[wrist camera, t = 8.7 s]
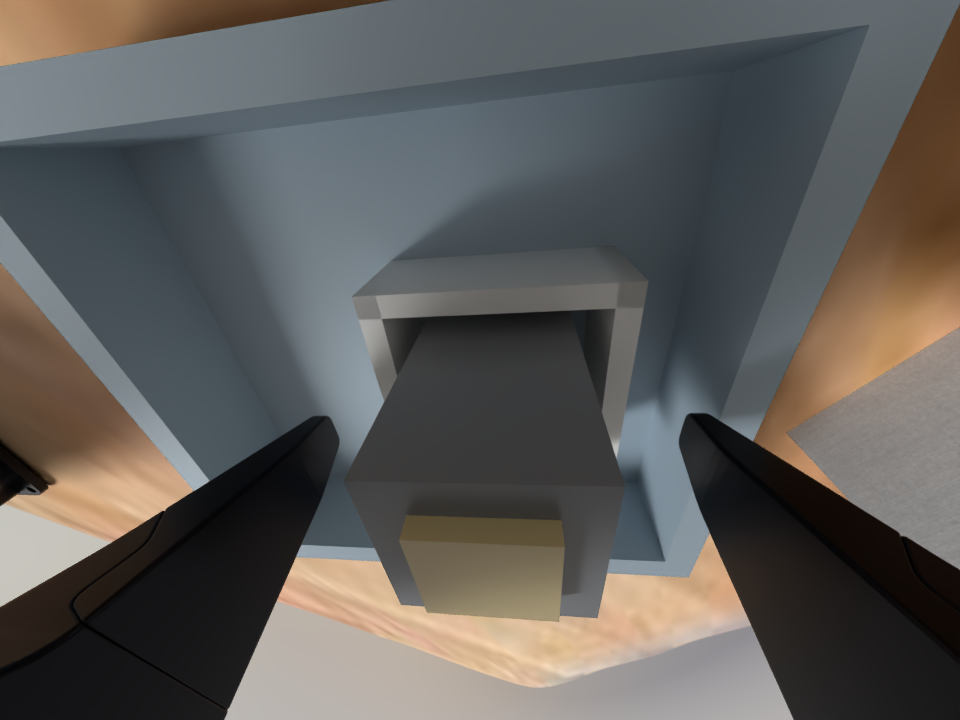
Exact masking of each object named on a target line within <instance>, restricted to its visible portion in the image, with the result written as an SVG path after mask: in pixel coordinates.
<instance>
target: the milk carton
mask: <svg viewBox="0 0 960 720" xmlns="http://www.w3.org/2000/svg"><path fill="white" fill-rule="evenodd" d="M787 434H788V435H789V436H790V437H791V438H792V440H793V441H794V442H795V443H796V444H797V445H798V446H799V447H800V448H801V449H802V450H803V451H804V452H805V453H806V454H807V456H808V457H809V458H810V459H811V460H812V461H813V462H814V463H815V464H816V465H817V466H818V467H819V468H820V469H821V471H822V472H823V473H824V474H825V475H826V476H827V477H828V478H829V479H830V480H831V481H832V482H833V483H834V484H835V486H836V487H837V488H838V489H839V490H840V491H841V492H842V493H843V494H844V495H845V496H846V497H847V498H848V499H849V501H850V502H851V503H853V504H854V505H856V506H858V507H859V508H861V509H863V510H864V511H866V512H867V513H869V514H871V515H872V516H874V517H875V518H877V519H879V520H880V521H882V522H883V523H885V524H887V525H888V526H890V527H891V528H893V529H895V530H896V531H898V532H899V533H900V535H901V536H906V537H908V538H909V539H911V540H913V541H914V542H916V543H917V544H919V545H921V546H922V547H924V548H925V549H927V550H929V551H930V552H932V553H933V554H935V555H937V556H938V557H940V558H942V559H943V560H945V561H947V562H948V563H950V564H951V565H953V566H955V567H956V568H958V569H960V327H959V328H957V329H956V330H954V331H952V332H951V333H949V334H948V335H946V336H944V337H943V338H941V339H939V340H938V341H936V342H934V343H933V344H931V345H929V346H928V347H926V348H925V349H923V350H921V351H920V352H918V353H916V354H915V355H913V356H911V357H910V358H908V359H907V360H905V361H903V362H902V363H900V364H898V365H897V366H895V367H893V368H892V369H890V370H888V371H887V372H885V373H884V374H882V375H880V376H879V377H877V378H875V379H874V380H872V381H870V382H869V383H867V384H865V385H864V386H862V387H861V388H859V389H857V390H856V391H854V392H852V393H851V394H849V395H847V396H846V397H844V398H843V399H841V400H839V401H838V402H836V403H834V404H833V405H831V406H829V407H828V408H826V409H824V410H823V411H821V412H820V413H818V414H816V415H815V416H813V417H811V418H810V419H808V420H806V421H805V422H803V423H801V424H800V425H798V426H797V427H795V428H793V429H792V430H790V431H788V432H787Z"/></svg>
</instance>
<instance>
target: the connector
mask: <svg viewBox="0 0 960 720" xmlns="http://www.w3.org/2000/svg"><path fill="white" fill-rule="evenodd" d="M343 482H344V484H345V486H346V488H347V490H348V492H349V495H350V497H351V499H352V501H353V503H354V505H355V507H356V510H357V512H358V514H359V516H360V518H361V520H362V522H363V524H364V527H365V529H366V531H367V533H368V535H369V537H370V539H371V541H372V544H373V546H374V548H375V550H376V552H377V554H378V556H379V559H380V561H381V563H382V565H383V567H384V569H385V571H386V573H387V576H388V578H389V580H390V582H391V584H392V586H393V588H394V590H395V593H396V595H397V597H398V599H399V601H400V603H401V605H411V606H425V608H426V611H427V613H440V614H454V615H469V616H483V617H497V618H511V619H526V620H540V621H554V622H559V617H560V616H573V617H588V618H597V617H598V613H599V608H600V603H601V599H602V594H603V589H604V584H605V580H606V575H607V570H608V566H609V561H610V556H611V551H612V547H613V542H614V537H615V533H616V528H617V523H618V519H619V514H620V509H621V504H622V500H623V495H624V490H625V484H624V481H623V478H622V475H621V472H620V469H619V465H618V462H617V459H616V456H615V453H614V450H613V446H612V443H611V440H610V437H609V434H608V431H607V427H606V424H605V421H604V418H603V415H602V412H601V408H600V405H599V402H598V399H597V396H596V393H595V389H594V386H593V383H592V380H591V377H590V374H589V370H588V367H587V364H586V361H585V358H584V354H583V351H582V348H581V345H580V342H579V339H578V335H577V332H576V329H575V326H574V323H573V320H572V316H571V313H570V311H548V312H525V313H502V314H480V315H457V316H435V317H428V318H427V320H426V322H425V324H424V326H423V328H422V330H421V332H420V334H419V336H418V338H417V340H416V342H415V343H414V345H413V347H412V349H411V351H410V353H409V355H408V357H407V359H406V361H405V363H404V365H403V367H402V369H401V371H400V372H399V374H398V376H397V378H396V380H395V382H394V384H393V386H392V388H391V390H390V392H389V394H388V396H387V398H386V400H385V401H384V403H383V405H382V407H381V409H380V411H379V413H378V415H377V417H376V419H375V421H374V423H373V425H372V427H371V429H370V430H369V432H368V434H367V436H366V438H365V440H364V442H363V444H362V446H361V448H360V450H359V452H358V454H357V456H356V458H355V459H354V461H353V463H352V465H351V467H350V469H349V471H348V473H347V475H346V477H345V479H344V481H343Z"/></svg>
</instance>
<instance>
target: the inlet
mask: <svg viewBox="0 0 960 720" xmlns="http://www.w3.org/2000/svg"><path fill="white" fill-rule="evenodd" d="M648 282H649V281H648V280H647V279H646V278H645V277H644V276H643V275H642V274H641V273H640V272H639V271H638V270H637V269H636V267H635V266H634V265H633V264H632V263H631V262H630V261H629V260H628V259H627V258H626V257H625V256H624V255H623V254H622V253H621V252H620V251H619V250H618V249H617V248H616V247H615V246H601V247H587V248H572V249H557V250H542V251H527V252H512V253H497V254H482V255H467V256H452V257H437V258H423V259H408V260H393V261H390V262H389V263H388V264H387V265H386V266H385V267H384V268H383V269H381V270H380V271H379V272H378V273H377V274H376V275H375V276H374V277H373V278H372V279H371V280H369V281H368V282H367V283H366V284H365V285H364V286H363V287H362V288H361V289H360V290H359V291H357V292H356V293H355V294H354V295H353V296H352V300H353V304H354V307H355V310H356V313H357V316H358V320H359V323H360V326H361V329H362V333H363V336H364V339H365V342H366V345H367V349H368V352H369V355H370V358H371V362H372V365H373V368H374V371H375V374H376V378H377V381H378V384H379V387H380V391H381V394H382V397H383V400H384V401H385V400H386V398H387V396H388V394H389V392H390V390H391V388H392V386H393V384H394V382H395V380H396V378H397V376H398V374H399V372H400V371H401V369H402V367H403V365H404V363H405V361H406V359H407V357H408V355H409V353H410V351H411V349H412V347H413V345H414V343H415V342H416V340H417V338H418V336H419V334H420V332H421V330H422V328H423V323H422V318H421V317H435V316H457V315H480V314H502V313H525V312H548V311H570V310H587V322H586V334H585V345H584V358H585V361H586V364H587V367H588V370H589V374H590V377H591V380H592V383H593V386H594V389H595V393H596V396H597V399H598V402H599V405H600V408H601V412H602V415H603V418H604V421H605V424H606V427H607V431H608V434H609V437H610V440H611V443H612V446H613V450H614V453H615V456H616V459H617V454H618V448H619V442H620V437H621V431H622V426H623V420H624V415H625V409H626V404H627V398H628V393H629V387H630V381H631V376H632V370H633V365H634V359H635V354H636V348H637V343H638V337H639V332H640V326H641V321H642V315H643V309H644V304H645V298H646V293H647V287H648Z"/></svg>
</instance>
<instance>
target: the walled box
mask: <svg viewBox="0 0 960 720" xmlns="http://www.w3.org/2000/svg"><path fill="white" fill-rule="evenodd" d="M959 4H960V0H389V1H384V2H378V3H372V4H366V5H360V6H354V7H348V8H342V9H336V10H330V11H325V12H319V13H313V14H307V15H301V16H295V17H289V18H283V19H277V20H272V21H266V22H260V23H254V24H248V25H242V26H236V27H230V28H224V29H218V30H213V31H207V32H201V33H195V34H189V35H183V36H177V37H171V38H165V39H160V40H154V41H148V42H142V43H136V44H130V45H124V46H118V47H112V48H106V49H101V50H95V51H89V52H83V53H77V54H71V55H65V56H59V57H53V58H48V59H42V60H36V61H30V62H24V63H18V64H12V65H6V66H0V263H1V264H2V265H3V266H4V268H5V269H6V270H7V271H8V272H9V273H10V275H11V276H12V277H13V278H14V279H15V281H16V282H17V283H18V284H19V285H20V286H21V288H22V289H23V290H24V291H25V292H26V293H27V295H28V296H29V297H30V298H31V299H32V301H33V302H34V303H35V304H36V305H37V306H38V308H39V309H40V310H41V311H42V312H43V314H44V315H45V316H46V317H47V318H48V319H49V321H50V322H51V323H52V324H53V325H54V327H55V328H56V329H57V330H58V331H59V332H60V334H61V335H62V336H63V337H64V338H65V339H66V341H67V342H68V343H69V344H70V345H71V347H72V348H73V349H74V350H75V351H76V352H77V354H78V355H79V356H80V357H81V358H82V360H83V361H84V362H85V363H86V364H87V365H88V367H89V368H90V369H91V370H92V371H93V373H94V374H95V375H96V376H97V377H98V378H99V380H100V381H101V382H102V383H103V384H104V386H105V387H106V388H107V389H108V390H109V391H110V393H111V394H112V395H113V396H114V397H115V398H116V400H117V401H118V402H119V403H120V404H121V406H122V407H123V408H124V409H125V410H126V411H127V413H128V414H129V415H130V416H131V417H132V419H133V420H134V421H135V422H136V423H137V424H138V426H139V427H140V428H141V429H142V430H143V432H144V433H145V434H146V435H147V436H148V437H149V439H150V440H151V441H152V442H153V443H154V444H155V446H156V447H157V448H158V449H159V450H160V452H161V453H162V454H163V455H164V456H165V457H166V459H167V460H168V461H169V462H170V463H171V465H172V466H173V467H174V468H175V469H176V470H177V472H178V473H179V474H180V475H181V476H182V478H183V479H184V480H185V481H186V482H187V483H188V485H189V486H190V487H191V488H192V489H193V491H195V490H196V489H198V488H200V487H201V486H203V485H204V484H206V483H208V482H209V481H211V480H212V479H214V478H215V477H217V476H219V475H220V474H222V473H223V472H225V471H227V470H228V469H230V468H231V467H233V466H234V465H236V464H238V463H239V462H241V461H242V460H244V459H245V458H247V457H249V456H250V455H252V454H253V453H255V452H257V451H258V450H260V449H261V448H263V447H264V446H266V445H268V444H269V443H271V442H272V441H274V440H276V439H277V438H279V437H280V436H282V435H283V434H285V433H287V432H288V431H290V430H291V429H293V428H294V427H296V426H298V425H299V424H301V423H302V422H304V421H306V420H307V419H309V418H310V417H312V416H318V415H326V416H329V417H330V418H331V419H332V421H333V424H334V426H335V428H336V431H337V433H338V435H339V439H340V444H339V448H338V451H337V454H336V457H335V460H334V464H333V467H332V470H331V473H330V476H329V479H328V482H327V485H326V488H325V491H324V494H323V496H322V499H321V501H320V504H319V506H318V509H317V511H316V513H315V515H314V518H313V520H312V522H311V524H310V527H309V529H308V531H307V533H306V536H305V538H304V540H303V542H302V545H301V547H300V549H299V551H298V554H297V556H296V557H303V558H323V559H342V560H361V561H380V559H379V556H378V554H377V552H376V550H375V548H374V546H373V544H372V541H371V539H370V537H369V535H368V533H367V531H366V529H365V527H364V524H363V522H362V520H361V518H360V516H359V514H358V512H357V510H356V507H355V505H354V503H353V501H352V499H351V497H350V495H349V492H348V490H347V488H346V486H345V484H344V482H343V481H344V479H345V477H346V475H347V473H348V471H349V469H350V467H351V465H352V463H353V461H354V459H355V458H356V456H357V454H358V452H359V450H360V448H361V446H362V444H363V442H364V440H365V438H366V436H367V434H368V432H369V430H370V429H371V427H372V425H373V423H374V421H375V419H376V417H377V415H378V413H379V411H380V409H381V407H382V405H383V403H384V400H383V397H382V394H381V391H380V387H379V384H378V381H377V378H376V374H375V371H374V368H373V365H372V362H371V358H370V355H369V352H368V349H367V345H366V342H365V339H364V336H363V333H362V329H361V326H360V323H359V320H358V316H357V313H356V310H355V307H354V304H353V300H352V296H353V295H354V294H355V293H356V292H357V291H359V290H360V289H361V288H362V287H363V286H364V285H365V284H366V283H367V282H368V281H369V280H371V279H372V278H373V277H374V276H375V275H376V274H377V273H378V272H379V271H380V270H381V269H383V268H384V267H385V266H386V265H387V264H388V263H389V262H390V261H393V260H408V259H423V258H437V257H452V256H467V255H482V254H497V253H512V252H527V251H542V250H557V249H572V248H587V247H601V246H615V247H616V248H617V249H618V250H619V251H620V252H621V253H622V254H623V255H624V256H625V257H626V258H627V259H628V260H629V261H630V262H631V263H632V264H633V265H634V266H635V267H636V269H637V270H638V271H639V272H640V273H641V274H642V275H643V276H644V277H645V278H646V279H647V280H648V281H649V282H648V287H647V293H646V298H645V304H644V309H643V315H642V321H641V326H640V332H639V337H638V343H637V348H636V354H635V359H634V365H633V370H632V376H631V381H630V387H629V393H628V398H627V404H626V409H625V415H624V420H623V426H622V431H621V437H620V442H619V448H618V454H617V462H618V465H619V469H620V472H621V475H622V478H623V481H624V484H625V490H624V495H623V500H622V504H621V509H620V514H619V519H618V523H617V528H616V533H615V537H614V542H613V547H612V551H611V556H610V561H609V566H608V570H607V573H613V574H633V575H652V576H671V577H689V575H690V573H691V571H692V569H693V567H694V565H695V563H696V560H697V558H698V556H699V554H700V552H701V550H702V548H703V546H704V544H705V541H706V539H707V537H708V535H709V533H710V532H709V530H708V528H707V525H706V523H705V521H704V519H703V516H702V514H701V512H700V509H699V507H698V504H697V501H696V498H695V495H694V492H693V489H692V486H691V483H690V479H689V476H688V473H687V470H686V467H685V464H684V461H683V458H682V455H681V451H680V448H679V436H680V432H681V429H682V426H683V423H684V420H685V417H686V415H687V414H689V413H707V414H710V415H711V416H713V417H715V418H716V419H718V420H720V421H721V422H723V423H724V424H726V425H728V426H729V427H731V428H732V429H734V430H736V431H737V432H739V433H740V434H742V435H744V436H745V437H747V438H748V439H750V440H752V441H753V440H754V438H755V436H756V434H757V432H758V429H759V427H760V425H761V423H762V421H763V419H764V417H765V415H766V413H767V410H768V408H769V406H770V404H771V402H772V400H773V398H774V396H775V393H776V391H777V389H778V387H779V385H780V383H781V381H782V379H783V377H784V374H785V372H786V370H787V368H788V366H789V364H790V362H791V360H792V358H793V355H794V353H795V351H796V349H797V347H798V345H799V343H800V341H801V339H802V336H803V334H804V332H805V330H806V328H807V326H808V324H809V322H810V319H811V317H812V315H813V313H814V311H815V309H816V307H817V305H818V303H819V300H820V298H821V296H822V294H823V292H824V290H825V288H826V286H827V284H828V281H829V279H830V277H831V275H832V273H833V271H834V269H835V267H836V265H837V262H838V260H839V258H840V256H841V254H842V252H843V250H844V248H845V245H846V243H847V241H848V239H849V237H850V235H851V233H852V231H853V229H854V226H855V224H856V222H857V220H858V218H859V216H860V214H861V212H862V210H863V207H864V205H865V203H866V201H867V199H868V197H869V195H870V193H871V191H872V188H873V186H874V184H875V182H876V180H877V178H878V176H879V174H880V171H881V169H882V167H883V165H884V163H885V161H886V159H887V157H888V155H889V152H890V150H891V148H892V146H893V144H894V142H895V140H896V138H897V136H898V133H899V131H900V129H901V127H902V125H903V123H904V121H905V119H906V117H907V114H908V112H909V110H910V108H911V106H912V104H913V102H914V100H915V98H916V95H917V93H918V91H919V89H920V87H921V85H922V83H923V81H924V78H925V76H926V74H927V72H928V70H929V68H930V66H931V64H932V62H933V59H934V57H935V55H936V53H937V51H938V49H939V47H940V45H941V43H942V40H943V38H944V36H945V34H946V32H947V30H948V28H949V26H950V24H951V21H952V19H953V17H954V15H955V13H956V11H957V9H958V7H959ZM570 313H571V316H572V320H573V323H574V326H575V329H576V332H577V335H578V339H579V342H580V345H581V348H582V351H583V354H584V345H585V334H586V322H587V310H570ZM421 318H422V323H423V326H424V324H425V322H426V320H427V318H428V317H421Z"/></svg>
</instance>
